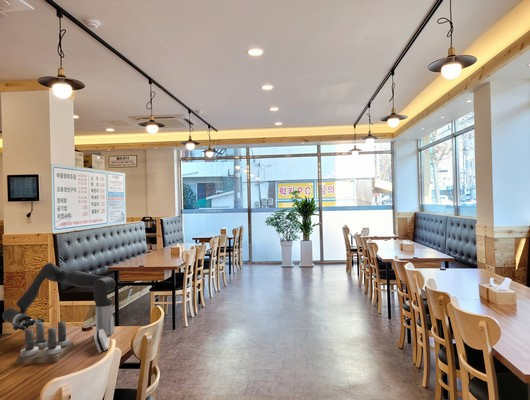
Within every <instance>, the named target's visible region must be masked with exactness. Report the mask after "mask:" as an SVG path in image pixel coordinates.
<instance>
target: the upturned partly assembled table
mask: <svg viewBox="0 0 530 400" xmlns="http://www.w3.org/2000/svg"><path fill="white" fill-rule="evenodd" d="M66 324H67V322H66V320H65V321H63V320H62V321H59V322H57V327H50V328H48V329H47V338H44V343H40V344H36V339H35V340H34V337H35V334H34V328H27V329H25V330H24V338H25V340H24V348H22V349H21V350H20V354H19V356H17V357H16V358H15V359H16V360H15V361H16V362H15V364H16V365H28V364H29V365H30V364H44V363H46V364H47V363H48V364H49V363H58V362H59V361H60V360H61V359H62V358H64V356H66V355H68V353H69V352H71V351H72V349H73V348H74V341H71V338H70V337H67V325H66Z"/></svg>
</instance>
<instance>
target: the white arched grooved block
mask: <svg viewBox="0 0 530 400" xmlns="http://www.w3.org/2000/svg"><path fill="white" fill-rule="evenodd" d="M93 337H94V338H93V339H94V343H95V345H96V348H97V351H98V353H102V352H103V351H106V350H107V351H108V348H109V342H110V340H111V338H110V337H108V336H106V334H105V332H104V330H103V329H101V330H99V331H97V332H96V331H95V332H94V335H93Z"/></svg>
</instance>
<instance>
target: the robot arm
mask: <svg viewBox="0 0 530 400" xmlns="http://www.w3.org/2000/svg"><path fill="white" fill-rule="evenodd" d="M45 279H47V280H48V281H50V282H56V283H64V284H66V285H70V286H73V287H75V288H76V287H77V288H93V290H92V292H93V301H94V303H95V332H97V331H99V330H101V329H103V330H104V332H105V334H106V336H107V335H108V336H111V334H114V332H115V318H114V317H115V316H114V315H113V310H114V309H113V299H112V298H108V295H107V294H108V293H110V292H112V291H113V290H115V288H116V286H117V284H116V280H115V279H114V278H112V277H111V276H104V275H101V276H100V275H96V274H92V273H89V272H85V271H80V270H71V271H67V270H65V269H62V268H60V267H59V266H58V265H56V264H54V263H52V262H49V263H46V264H45V265H44V266H43V267H42V268H41V269H40V270H39V271H38V273H37V275H36V276H35V278H34V280H33V281H32V283H31V285H29V287H28V288H27V290H26V291H25V292H24V294H23V295H22V296H21V297H20V298H19V299H18V300H17V302H16V303H15V304H16V306H17V307H18V308H19V311H18V310H16V309H15V308H12V307H9V308H7V309H5V310H4V311H3V312H2V314H1V315H2V316H1V317H2V319H3V320H4V321H6V322H7V323H9V324H11V325H12V326H11V327H12V329H13V331H20V330H21V331H23V332H25V330H27V329H30V328H31V327H36V323H39V322H44V323H45V319H43V318H40V317H38V318H37V319H33V318H32V317H31V316H30V315H27V314H26V312H27V310H28V309H29V307H30V306H31V305H32V304H33V303H34V301H35V300H36V299H37V298H38V294H39V291H40V288H41V285H42V284H43V282H44V281H45ZM108 336H107V337H108Z"/></svg>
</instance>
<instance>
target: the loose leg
mask: <svg viewBox="0 0 530 400" xmlns="http://www.w3.org/2000/svg"><path fill="white" fill-rule="evenodd" d="M35 335H36V336H35V340H36V344H40V343H44V339H45V321H44V322H39V323H38V322H37V323H36V326H35Z"/></svg>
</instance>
